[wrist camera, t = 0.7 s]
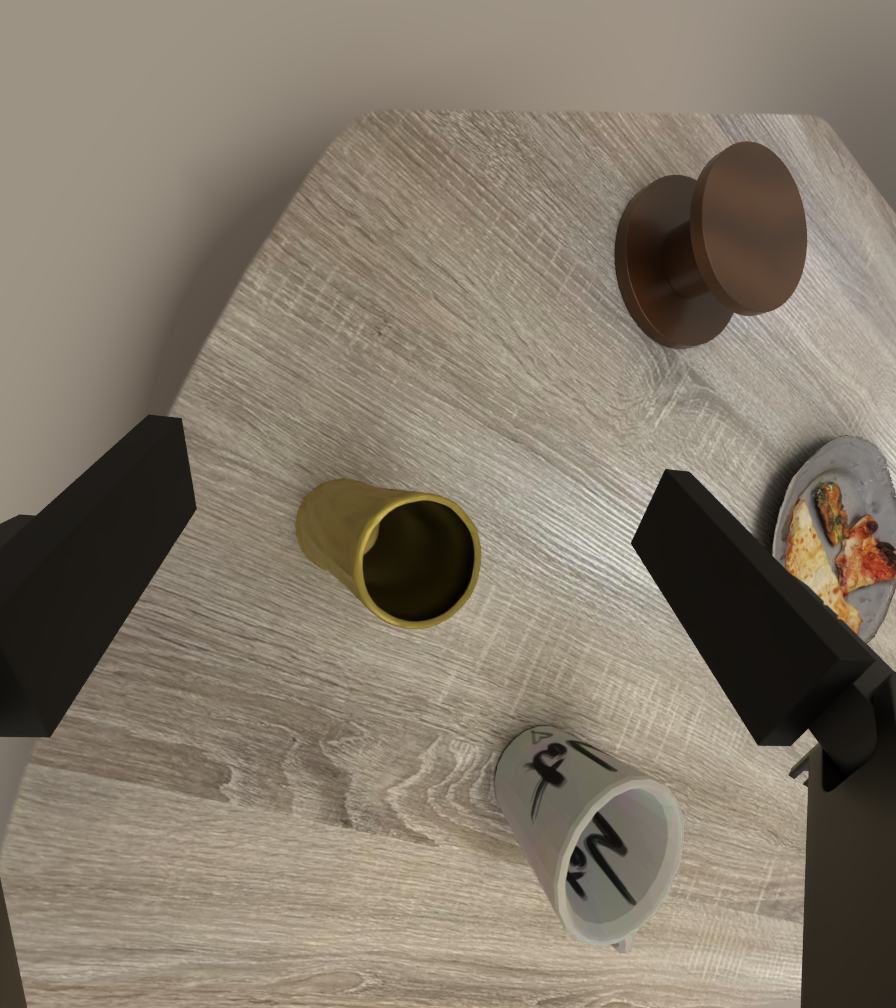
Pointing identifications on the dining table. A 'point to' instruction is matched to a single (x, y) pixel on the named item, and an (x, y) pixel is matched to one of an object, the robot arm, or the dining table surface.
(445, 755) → the dining table surface
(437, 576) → the vase
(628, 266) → the stand
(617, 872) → the mug
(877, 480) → the food plate
